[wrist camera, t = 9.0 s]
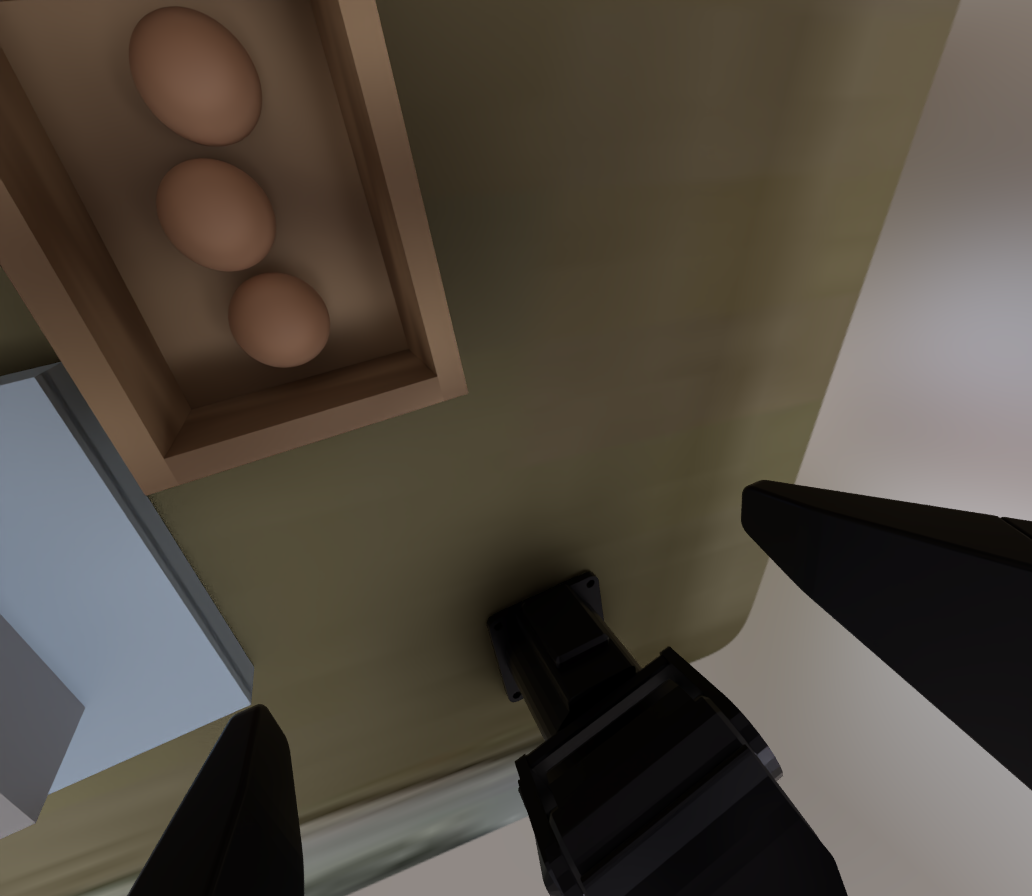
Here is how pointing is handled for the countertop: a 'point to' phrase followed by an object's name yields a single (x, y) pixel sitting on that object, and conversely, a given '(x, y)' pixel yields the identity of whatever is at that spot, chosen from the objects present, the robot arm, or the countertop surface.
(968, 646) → the robot arm
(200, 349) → the box
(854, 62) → the countertop surface
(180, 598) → the lid
